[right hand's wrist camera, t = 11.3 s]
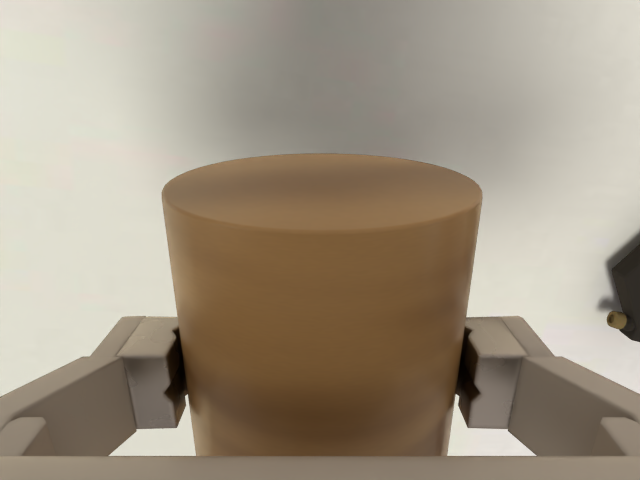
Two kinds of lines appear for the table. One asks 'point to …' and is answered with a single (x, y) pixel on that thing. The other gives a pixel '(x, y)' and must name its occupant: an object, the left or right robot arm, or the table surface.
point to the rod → (321, 302)
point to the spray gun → (628, 296)
